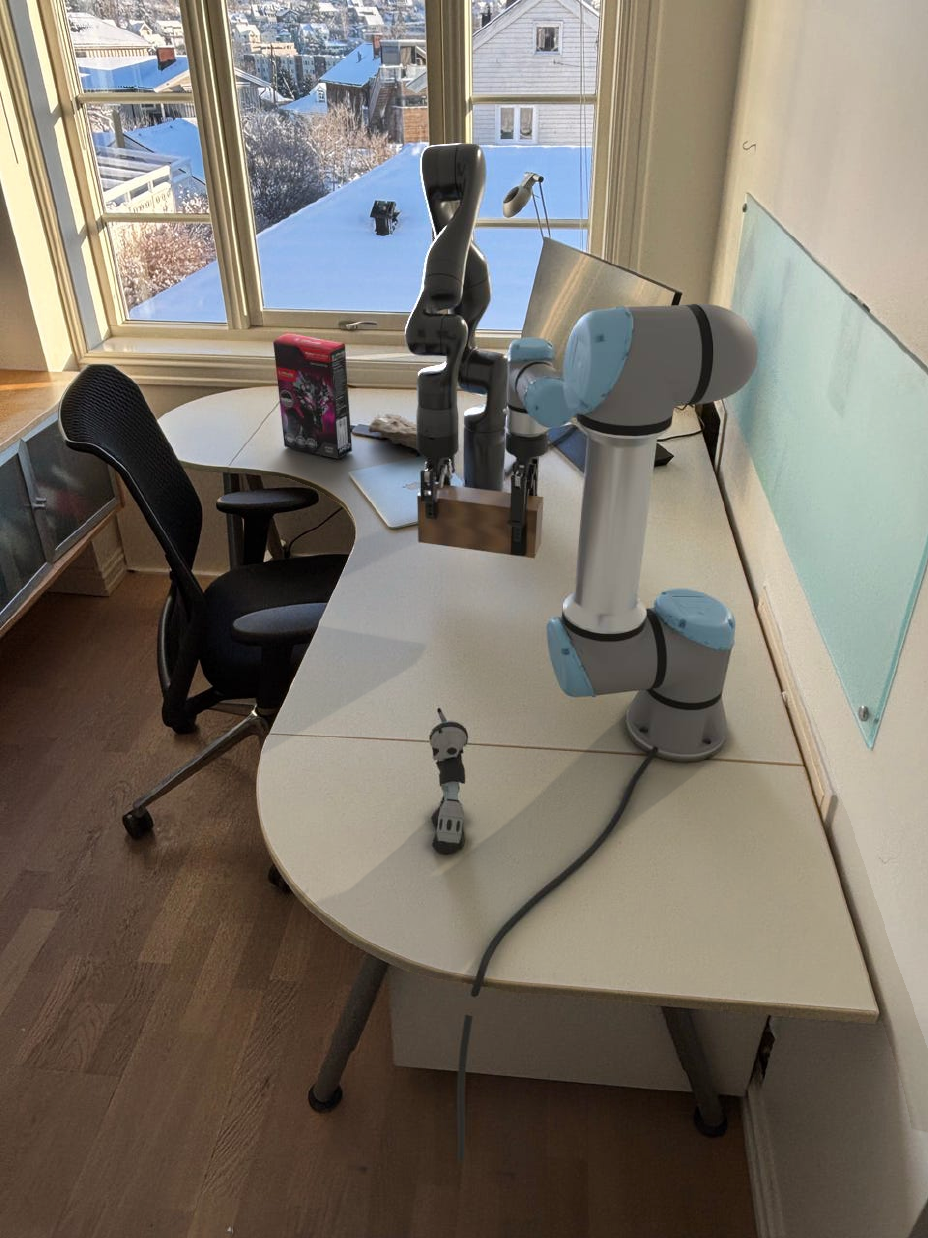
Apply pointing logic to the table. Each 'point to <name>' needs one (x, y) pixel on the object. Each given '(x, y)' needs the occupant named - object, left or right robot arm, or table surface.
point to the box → (478, 521)
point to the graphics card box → (313, 395)
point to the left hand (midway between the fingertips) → (438, 508)
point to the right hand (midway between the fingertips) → (521, 545)
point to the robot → (449, 784)
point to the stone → (395, 429)
